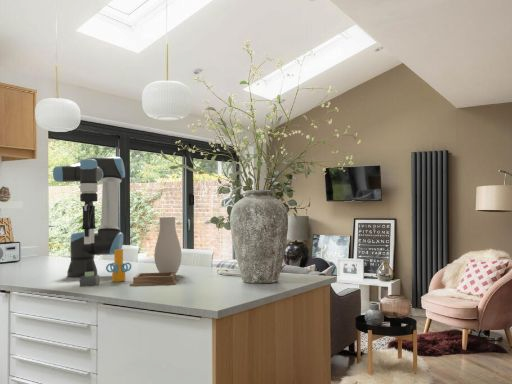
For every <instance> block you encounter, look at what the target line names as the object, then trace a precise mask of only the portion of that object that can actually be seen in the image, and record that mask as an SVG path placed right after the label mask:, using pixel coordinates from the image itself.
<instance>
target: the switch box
mask: <svg viewBox="0 0 512 384" xmlns="http://www.w3.org/2000/svg"><path fill="white" fill-rule="evenodd" d="M98 285H100V275H99V274H97V275H94V277H85V276H82V277H79V288H80V287H81V288H82V287H97V286H98Z"/></svg>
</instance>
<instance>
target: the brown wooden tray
mask: <svg viewBox="0 0 512 384" xmlns="http://www.w3.org/2000/svg"><path fill="white" fill-rule="evenodd" d="M178 281H179V277H178V276H176V274H175V272H163V273H159V272H140V273H139V272H138V273H136V274H135V275H134V276H133V278H132V281H131V282H130V283H129V286H130V287H135V286H137V287H141V286H166V285H167V286H168V285H169V286H170V285H173V286H175V285H176V284H177V282H178Z"/></svg>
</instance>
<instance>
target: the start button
mask: <svg viewBox="0 0 512 384" xmlns="http://www.w3.org/2000/svg"><path fill="white" fill-rule="evenodd" d="M85 277H94V272H85Z"/></svg>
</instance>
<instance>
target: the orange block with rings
mask: <svg viewBox="0 0 512 384" xmlns="http://www.w3.org/2000/svg"><path fill="white" fill-rule="evenodd" d="M113 255H114V262H112V263H108V264H107V265H106V267H105V269H106V271H107V272H108V273H112V276H111V277H112V282H114V283H115V282H117V283H118V282H121V283H122V282H125V281H126V273H127V272H129V271H130V270H131V269H132V264H131V262H124V249H123V248H122V249H117V250H114V254H113ZM128 265H129V266H128ZM109 267H110V270H109Z"/></svg>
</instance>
